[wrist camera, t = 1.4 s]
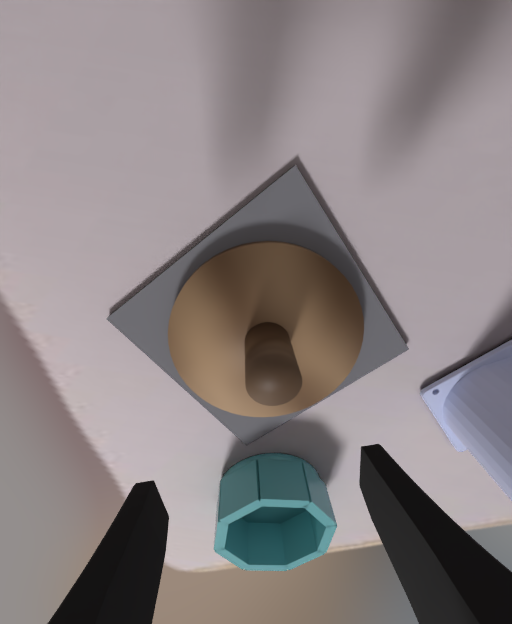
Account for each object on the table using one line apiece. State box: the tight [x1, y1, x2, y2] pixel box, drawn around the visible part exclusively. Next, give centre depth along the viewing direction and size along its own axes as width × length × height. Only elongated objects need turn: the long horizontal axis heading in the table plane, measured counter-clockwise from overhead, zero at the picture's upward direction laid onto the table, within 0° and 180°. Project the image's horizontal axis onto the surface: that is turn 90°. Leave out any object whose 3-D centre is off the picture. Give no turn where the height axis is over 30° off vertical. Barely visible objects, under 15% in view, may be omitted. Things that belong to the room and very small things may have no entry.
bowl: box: [214, 453, 337, 571], centre depth 24 cm, size 9×9×4 cm
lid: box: [168, 241, 364, 417], centre depth 16 cm, size 12×12×5 cm
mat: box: [107, 165, 409, 445], centre depth 19 cm, size 14×14×1 cm
